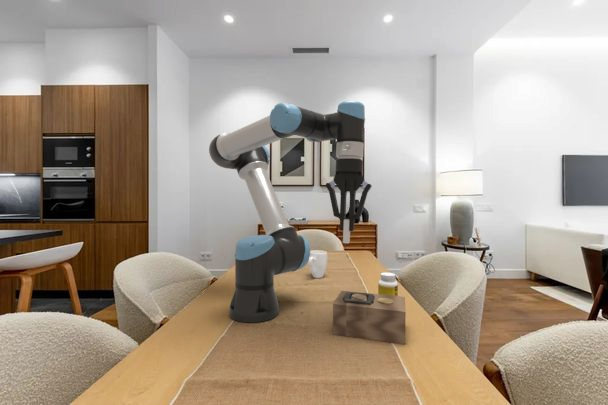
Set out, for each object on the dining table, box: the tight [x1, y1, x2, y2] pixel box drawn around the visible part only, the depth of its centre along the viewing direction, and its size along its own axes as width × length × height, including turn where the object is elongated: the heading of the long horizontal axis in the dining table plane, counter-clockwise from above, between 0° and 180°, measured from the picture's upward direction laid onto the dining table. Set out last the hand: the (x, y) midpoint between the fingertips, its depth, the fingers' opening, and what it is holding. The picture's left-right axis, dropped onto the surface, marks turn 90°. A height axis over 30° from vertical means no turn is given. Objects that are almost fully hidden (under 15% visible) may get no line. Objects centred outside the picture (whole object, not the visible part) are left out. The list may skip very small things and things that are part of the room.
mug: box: [307, 249, 328, 279], centre depth 138 cm, size 12×8×11 cm
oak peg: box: [352, 294, 367, 301], centre depth 85 cm, size 4×4×8 cm
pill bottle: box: [377, 272, 399, 296], centre depth 101 cm, size 6×6×11 cm
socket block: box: [332, 290, 407, 345], centre depth 84 cm, size 18×12×9 cm, turn 73°
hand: (346, 242), depth 87 cm, fingers closed
